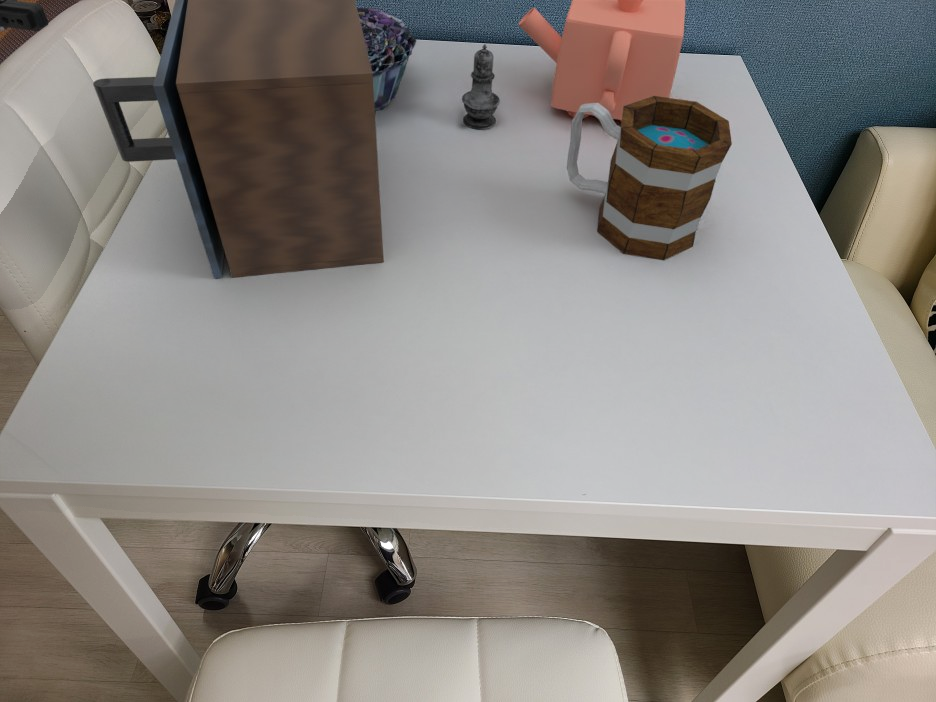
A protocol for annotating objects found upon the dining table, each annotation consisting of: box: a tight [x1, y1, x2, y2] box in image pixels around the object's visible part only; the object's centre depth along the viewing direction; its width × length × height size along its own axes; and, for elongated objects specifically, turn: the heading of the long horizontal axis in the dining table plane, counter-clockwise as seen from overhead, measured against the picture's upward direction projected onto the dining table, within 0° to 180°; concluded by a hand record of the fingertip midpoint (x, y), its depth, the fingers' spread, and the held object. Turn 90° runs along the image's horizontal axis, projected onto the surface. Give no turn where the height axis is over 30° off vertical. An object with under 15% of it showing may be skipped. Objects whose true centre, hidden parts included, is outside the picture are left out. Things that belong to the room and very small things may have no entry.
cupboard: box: [176, 0, 385, 278], centre depth 80 cm, size 18×26×24 cm
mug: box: [566, 96, 733, 261], centre depth 85 cm, size 20×14×15 cm
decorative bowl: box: [357, 7, 417, 111], centre depth 106 cm, size 26×28×10 cm
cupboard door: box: [92, 0, 225, 279], centre depth 78 cm, size 7×26×24 cm, turn 10°
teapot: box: [518, 0, 686, 123], centre depth 105 cm, size 25×23×18 cm
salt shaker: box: [461, 43, 501, 131], centre depth 101 cm, size 6×6×12 cm
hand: (41, 17), depth 69 cm, fingers closed
